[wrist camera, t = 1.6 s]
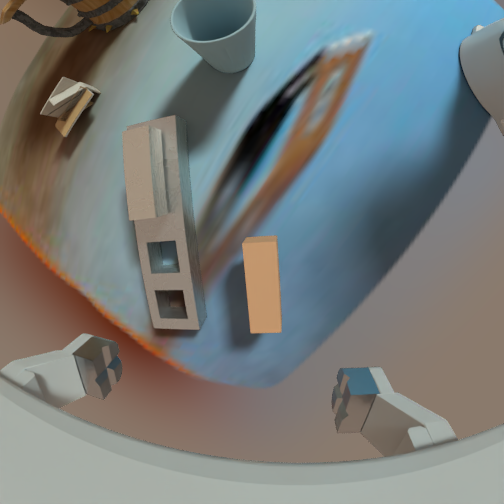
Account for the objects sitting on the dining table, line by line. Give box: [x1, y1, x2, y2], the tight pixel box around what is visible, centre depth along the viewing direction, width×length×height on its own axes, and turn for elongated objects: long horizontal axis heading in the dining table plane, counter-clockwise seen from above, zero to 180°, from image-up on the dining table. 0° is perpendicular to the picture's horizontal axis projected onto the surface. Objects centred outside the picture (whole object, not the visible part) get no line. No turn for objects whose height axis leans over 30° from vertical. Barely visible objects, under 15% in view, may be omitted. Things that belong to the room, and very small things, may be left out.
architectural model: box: [40, 77, 101, 137], centre depth 28 cm, size 3×7×7 cm, turn 137°
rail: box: [122, 115, 207, 330], centre depth 30 cm, size 6×24×7 cm, turn 5°
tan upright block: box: [242, 236, 282, 333], centre depth 30 cm, size 3×9×7 cm, turn 4°
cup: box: [170, 0, 256, 73], centre depth 22 cm, size 8×8×10 cm
